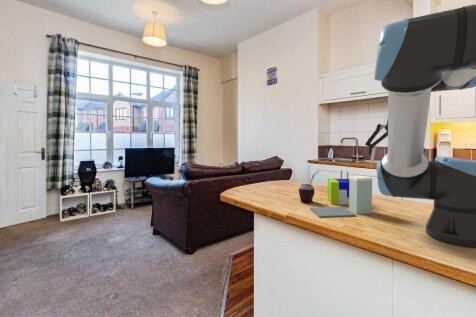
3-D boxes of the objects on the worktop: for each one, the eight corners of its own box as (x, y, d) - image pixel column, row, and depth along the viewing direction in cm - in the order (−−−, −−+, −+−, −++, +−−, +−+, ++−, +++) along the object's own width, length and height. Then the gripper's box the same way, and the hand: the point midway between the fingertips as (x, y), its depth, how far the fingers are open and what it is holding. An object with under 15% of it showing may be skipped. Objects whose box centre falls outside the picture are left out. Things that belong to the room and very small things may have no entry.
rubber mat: (342, 208, 107) (342, 206, 107) (355, 216, 96) (355, 214, 96) (310, 209, 106) (310, 208, 106) (319, 217, 95) (319, 216, 95)
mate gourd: (296, 200, 121) (296, 169, 120) (311, 199, 123) (311, 168, 122) (304, 204, 114) (303, 171, 113) (319, 203, 116) (319, 170, 114)
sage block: (363, 209, 104) (363, 175, 103) (371, 213, 98) (372, 178, 97) (349, 209, 104) (349, 176, 103) (356, 214, 98) (356, 178, 97)
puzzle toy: (354, 204, 112) (355, 182, 111) (330, 204, 114) (331, 182, 113) (349, 199, 122) (349, 178, 121) (327, 198, 124) (327, 178, 123)
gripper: (440, 115, 93) (429, 171, 97) (367, 111, 108) (359, 160, 112) (440, 114, 87) (428, 174, 91) (362, 110, 102) (354, 162, 106)
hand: (390, 166), depth 101 cm, fingers open, 13 cm apart
